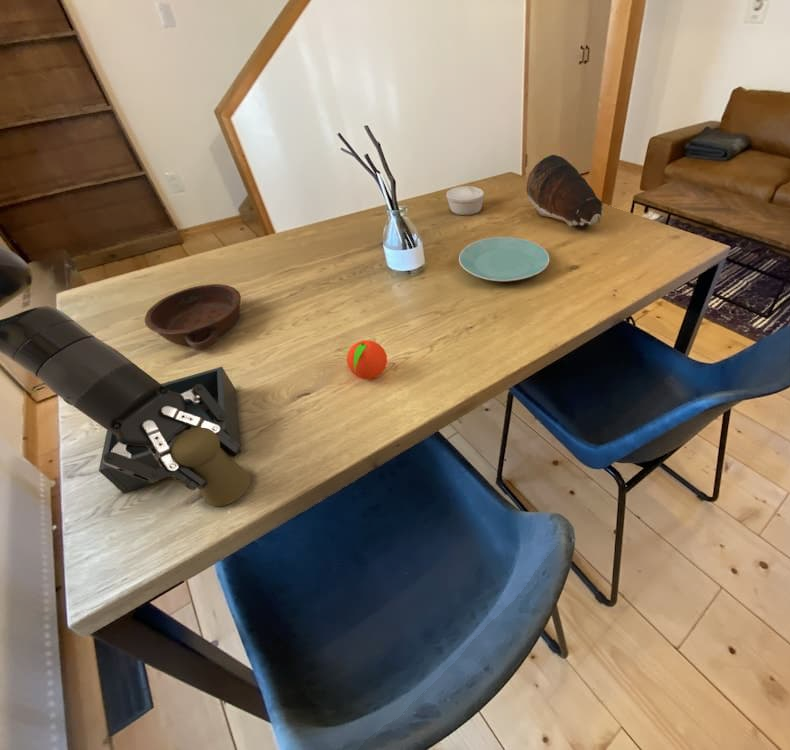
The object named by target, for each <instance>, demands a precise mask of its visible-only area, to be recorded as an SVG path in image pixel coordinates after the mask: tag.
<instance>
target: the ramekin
mask: <svg viewBox="0 0 790 750" xmlns="http://www.w3.org/2000/svg"><path fill="white" fill-rule="evenodd" d="M484 192H485V191H484V190H483V189H481V188H479V187H476V186H472V185H471V186H469V185H465V186H462V185H461V186H456V187H453V188H451V189H449V190H447V192H446V194H445V195H446V199H447V201H448V205H449V209H450V211H451V212H452V213H454V214H455V215H458V216H472V215H476V214H479V212H480V211H481V210H482V209H483V202H484V197H485V193H484Z"/></svg>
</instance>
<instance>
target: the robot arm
mask: <svg viewBox="0 0 790 750" xmlns="http://www.w3.org/2000/svg"><path fill="white" fill-rule="evenodd" d="M33 282H34V277H33V272H32V269H31V267H30V266H29V265H28V263H27V262H26V261H25V260H24V259H23V258H22V257H21V256H19V255H18V254H17V253H16V252H14V251H12V250H10V249H9V248H7V247H5V246H3V245H1V244H0V309H1V308H2V307H4V306H5V305H7V304H9V303H10V302H12V301H13V300H14V299H16V298H17V297H19V296H21V295H22V294H24V293H25V292H27V290H29V289H30V288H31V286H32V284H33ZM0 353H1V354H2V355H4V356H6V357H7V358H8V359H10V360H11V361H13V362H14V363H16V364H17V365H18V366H20V367H21V368H23V369H24V370H25V371H27V372H29V373H30V374H31V375H33V376H34V377H36V378H37V379H38V380H40V381H41V382H42V383H43V384H44V385H46V387H48V389H49V390H51V391H52V392H53V393H54V394H56V395H57V396H58V397H59V398H61V399H62V400H63V401H64V402H65V403H66V404H67V405H69V406H72V407H74V408H76V409H77V410H78V411H80V412H81V413H83V414H84V415H85V416H87V417H88V418H90V420H93V421H94V422H95V423H97V424H98V425H100V426H101V427H102V428H104V429H106V431H107V430H108V431H110V432H111V433H112V434H113V435H114V436H115V438H116V441H117V444H116V445H115V447H114V448H113V449H112V450H111V452H109V453H107V454H105V455H104V459H103V464H104V466H106V467H109V468H112V469H114V470H117V471H120V472H122V473H125V474H128V475H130V476H133V477H136V478H138V479H141V480H144V481H147V482H149V483H151V484H155V483H157V482H159V481H158V480H160V479H162V478H164V477H168V478H172V479H174V480H175V481H177V483H180V484H181V485H182V486H184V487H185V488H187V489H188V490H191V491H195V490H196V489H198V490H199V489H200V490H202V489H203V488H204V487H205V486H206V485H207V484H208V483H207V482H206V481H205V480H203V479H202V478H201V477H199V476H198V475H196V474H195V473H194V472H192V471H191V470H189V469H188V468H187V467H185V466H180V465H179V464H178V462H177V461H176V460H175V459H174V458H173V456H172V453H171V449H170V448H169V446H168V444H169V443H170V442H171V440H172V439H173V438H174V437H175V436H177V435H179V434H181V433H182V432H183V431H187V430H189V429H192V428H196V427H203V428H208V429H210V430H212V431H213V432H215V433H216V435H217V437H218V438H219V441H220V448H221V449H223V450H224V451H225V452H226V453H228V454H229V455H230V457H231V458H235V457H237V456H238V455H239V454H240V453H242V449H241V450H240V449H239V448H238V447H239V446H240V445H239V443H238V442H237V441H235V440H234V439H233V438H231V437H230V436H229V435H228V434H226V433H225V432H224V431H223V430H222V424H223V422H224V420H225V419H226V418H227V415H226V414H225V412H224V411H223V410H222V408H221V407H220V406H219V405H218V403H217V402H216V401H215V400H214V398H213V397H212V396H211V395H210V393H209V392H208V391H207V389H206V388H205V387H204V386H203V385H202V384H196V385H195V386H194V387H193V388H192V389H190V390H188V391H186V392H184V393H182V394H179V393H175V392H172V391H169V390H167V389H166V388H165V387H164V386H163V385H161V384H162V383H160V382H159V381H157V380H156V379H155V378H153V377H152V375H150V374H148V373H147V372H146V371H144V370H143V369H142V368H141V367H139V366H138V365H136V363H134V362H133V361H132V360H130V359H129V358H128V357H126V356H125V355H124V354H122V353H121V352H119V350H117V349H116V348H115V347H112V346H110V345H109V344H107V343H106V342H103V341H102V340H100V339H99V338H98V337H96V336H95V335H94V334H92V333H91V332H89V331H88V330H87V329H85V328H84V327H83V326H82V325H80V324H79V323H78V322H76V321H75V320H74V319H73V318H72V317H70V316H68V315H67V314H66V313H64V312H63V311H61V310H60V309H58V308H55V307H53V306H48V305H44V306H43V305H42V306H36V307H33V308H30V309H27V310H24V311H21V312H18V313H15V314H13V315H10V316H8V317H5V318H1V319H0ZM185 401H189V402H191V403H192V404H194V405H197V404H198V405H199V406H200V407H201V408H202V410H203V411H204V412H205V413H206V415H207V416H208V417H209V419H210V420H211V421H212V423H211V422H208V421H205V420H203V419H202V418H200V417H197V416H194V415H191V414H189V413H187V409H186V404H185ZM190 419H191V420H190ZM126 447H135V448H149V450H150V451H151V453H152V455H153V456H154V458H155V459H156V461H158V463H159V464H160V466H161V467H160V468H157V469H155V468H153V467H150V466H148V465H145V464H142V463H140V462H137V461H135V460H132V459H131V453H130V452H128V451H127V450H126ZM162 480H163V479H162ZM160 481H161V480H160ZM200 490H199V491H200Z"/></svg>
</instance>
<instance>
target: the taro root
mask: <svg viewBox="0 0 790 750" xmlns="http://www.w3.org/2000/svg"><path fill="white" fill-rule="evenodd" d="M526 179H527V180H526V187H525V188H526V189H525V190H526V191H525V192H526V197H527V200H528V201H529V202H530V203H531V205H532V206H533V207H534V208H535V209H536V211H537V212H538V213H539V214H540V216H543V217H547V218H552V219H556V220H557V221H558V220H559V221H561V222H565V223H566V224H567V225H568V227H573V226H577V225H578V226H587V225H591V226H595V225H597V224H599V223H600V221H601V219H602V210H603V205H604V203H605V202H604V201H602V200H600V199H599V198H598V197H597V195H596V192H595V190H594V189H593V188H592V186H591V185H589V183H588V181H587V180H586V178H584V177H583V175H581V174H580V173H579V170H577V168H575V166H573V164H572V163H570V162H569V161H568V160H567V159H565V158H564V157H562V156H560V155H557V154H549V155H547V156H546V157H543V158H542V159H540V160H539V161H538V162H536V163H535V165H534V166H533V167H532V168H531V170H530V172H529V173H528V176H527V178H526Z"/></svg>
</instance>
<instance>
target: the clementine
mask: <svg viewBox="0 0 790 750" xmlns="http://www.w3.org/2000/svg"><path fill="white" fill-rule="evenodd" d="M346 354H347V355H346V365H347V367H348V369H349V371H350V373H352V375H354V376H355V377H357V378H359V379H363V380H373V379H375V378H377V377H379V376H380V375H382V374H383V373H384V371H385V370H386V368H387V364H388V355H387V353H386V350H385V349H384V348H383V346H382V345H381V344H379V343H378V342H376V341H373V340H371V339H370V340H368V339H367V340H360V341H358V342H356V343H354V344H352V346H351V347H350V348H349V350H348V352H347V353H346Z"/></svg>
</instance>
